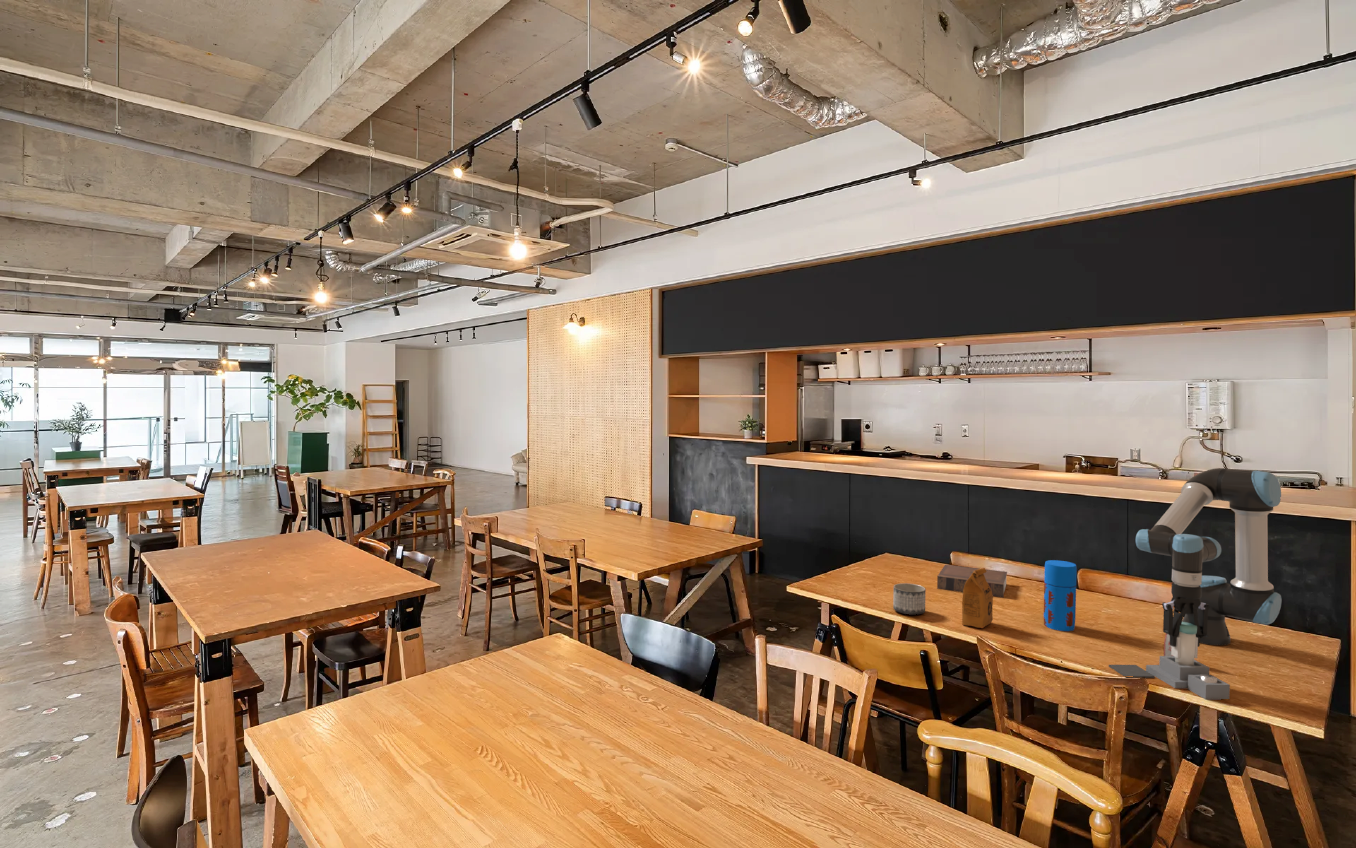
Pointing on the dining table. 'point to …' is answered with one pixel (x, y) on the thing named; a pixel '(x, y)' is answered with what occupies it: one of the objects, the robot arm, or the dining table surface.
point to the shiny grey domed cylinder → (1208, 678)
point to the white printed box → (1167, 646)
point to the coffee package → (977, 601)
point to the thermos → (1060, 595)
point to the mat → (1131, 671)
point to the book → (958, 575)
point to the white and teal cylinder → (1187, 644)
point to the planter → (909, 598)
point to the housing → (1189, 678)
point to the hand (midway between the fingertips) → (1184, 656)
